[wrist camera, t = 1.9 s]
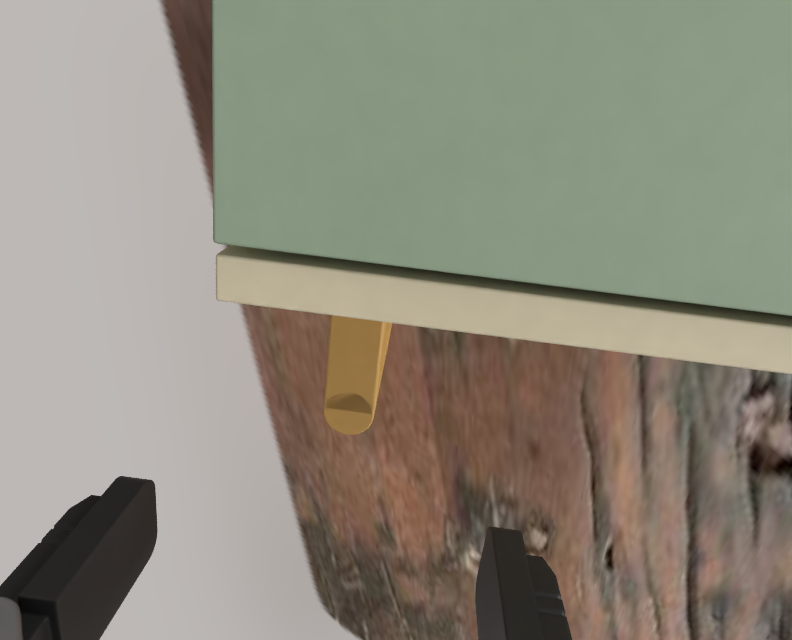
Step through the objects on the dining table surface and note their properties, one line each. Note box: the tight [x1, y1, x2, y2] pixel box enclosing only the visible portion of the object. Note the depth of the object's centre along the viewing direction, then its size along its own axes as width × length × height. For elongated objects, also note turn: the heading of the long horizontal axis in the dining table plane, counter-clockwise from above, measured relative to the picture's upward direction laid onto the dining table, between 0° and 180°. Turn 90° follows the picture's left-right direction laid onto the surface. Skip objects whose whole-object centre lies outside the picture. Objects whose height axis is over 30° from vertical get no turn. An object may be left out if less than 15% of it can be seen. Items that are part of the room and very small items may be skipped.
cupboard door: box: [216, 245, 792, 435], centre depth 21 cm, size 7×18×19 cm, turn 84°
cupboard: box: [212, 0, 792, 316], centre depth 18 cm, size 12×18×20 cm
